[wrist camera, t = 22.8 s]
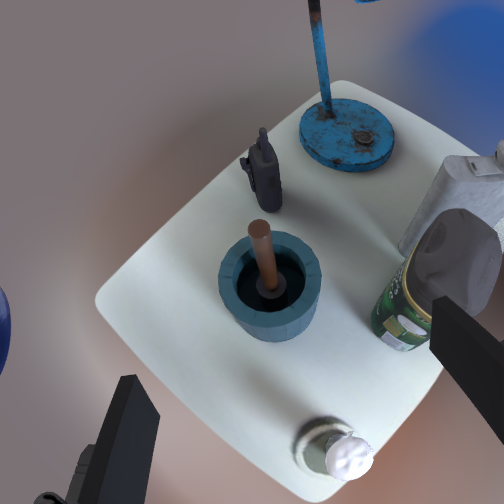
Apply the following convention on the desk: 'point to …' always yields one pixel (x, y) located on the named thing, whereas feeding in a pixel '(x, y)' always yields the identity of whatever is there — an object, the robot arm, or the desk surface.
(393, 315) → the coffee jar
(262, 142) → the two-way radio
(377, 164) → the desk lamp
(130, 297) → the desk surface
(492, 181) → the hip flask
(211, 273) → the desk surface
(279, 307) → the rod with cylinder end
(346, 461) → the milkshake
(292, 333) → the teal pencil cup
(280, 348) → the desk surface
